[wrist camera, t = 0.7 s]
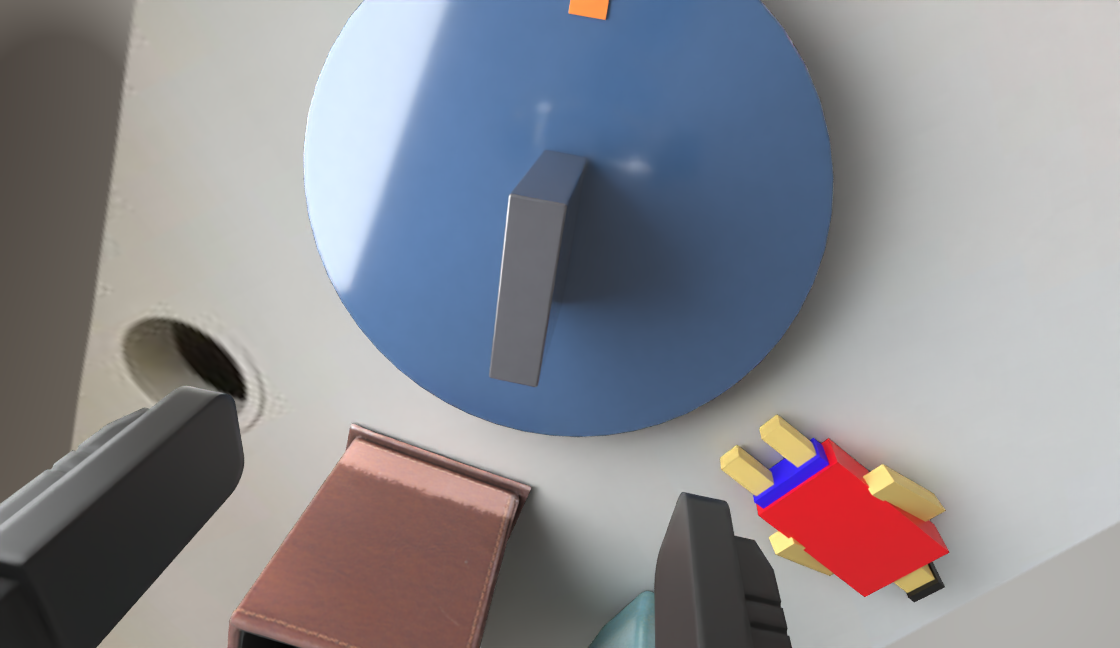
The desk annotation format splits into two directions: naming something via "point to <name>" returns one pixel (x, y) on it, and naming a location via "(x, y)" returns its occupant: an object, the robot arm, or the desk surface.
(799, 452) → the toy figure
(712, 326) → the turntable dial
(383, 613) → the desk organizer
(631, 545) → the desk surface
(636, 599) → the flower pot
